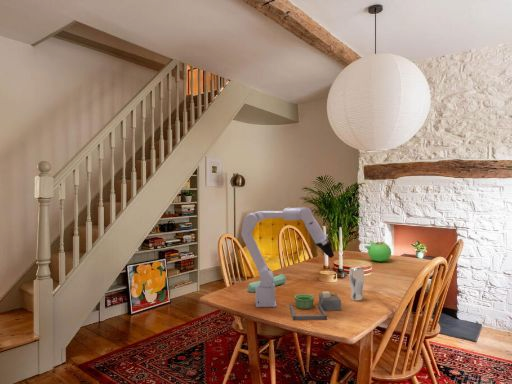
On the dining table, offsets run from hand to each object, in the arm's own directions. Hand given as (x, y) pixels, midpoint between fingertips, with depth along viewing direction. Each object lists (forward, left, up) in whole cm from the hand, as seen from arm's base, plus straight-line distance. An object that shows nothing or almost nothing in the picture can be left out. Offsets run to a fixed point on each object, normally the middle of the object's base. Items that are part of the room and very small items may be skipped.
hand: (330, 255), depth 158 cm
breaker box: (-1, -2, -23) cm, 23 cm away
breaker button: (-3, -2, -19) cm, 20 cm away
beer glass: (+14, +8, -23) cm, 28 cm away
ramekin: (-13, -1, -23) cm, 27 cm away
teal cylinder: (-29, +29, -23) cm, 47 cm away
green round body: (+55, +92, -23) cm, 110 cm away
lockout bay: (-13, -11, -23) cm, 28 cm away
